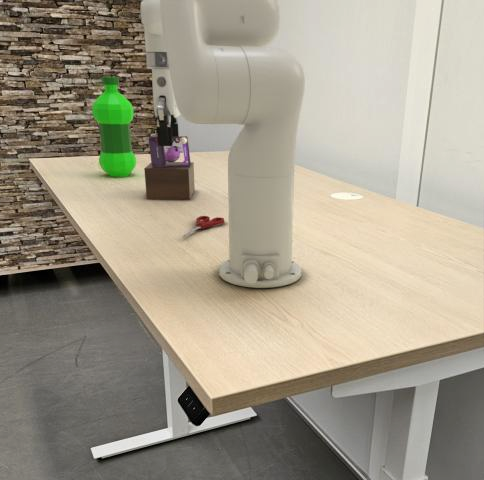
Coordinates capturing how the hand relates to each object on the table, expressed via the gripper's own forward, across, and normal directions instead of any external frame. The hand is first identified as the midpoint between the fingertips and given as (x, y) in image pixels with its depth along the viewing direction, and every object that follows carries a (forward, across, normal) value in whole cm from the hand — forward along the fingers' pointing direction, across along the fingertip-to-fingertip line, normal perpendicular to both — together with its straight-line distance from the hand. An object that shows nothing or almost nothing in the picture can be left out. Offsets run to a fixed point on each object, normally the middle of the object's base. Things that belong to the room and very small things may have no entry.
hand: (168, 143), depth 133 cm
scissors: (+12, -31, -10) cm, 34 cm away
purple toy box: (+5, 0, 0) cm, 5 cm away
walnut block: (+12, 0, 0) cm, 12 cm away
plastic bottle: (+12, +24, +18) cm, 33 cm away
